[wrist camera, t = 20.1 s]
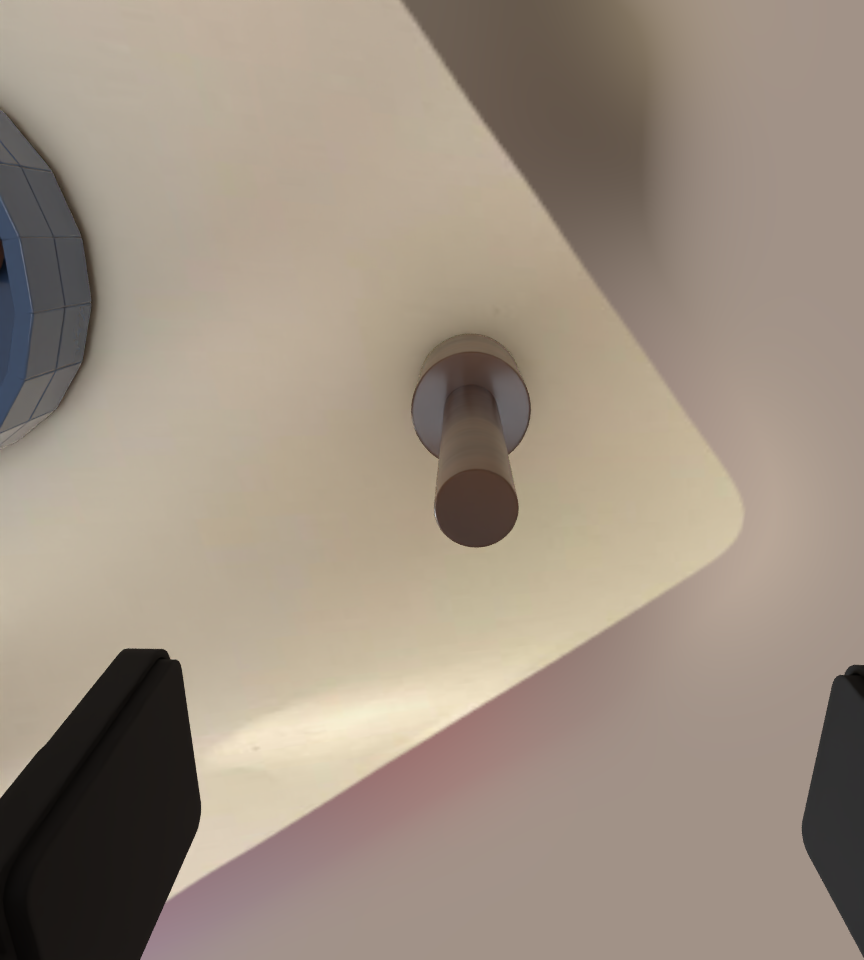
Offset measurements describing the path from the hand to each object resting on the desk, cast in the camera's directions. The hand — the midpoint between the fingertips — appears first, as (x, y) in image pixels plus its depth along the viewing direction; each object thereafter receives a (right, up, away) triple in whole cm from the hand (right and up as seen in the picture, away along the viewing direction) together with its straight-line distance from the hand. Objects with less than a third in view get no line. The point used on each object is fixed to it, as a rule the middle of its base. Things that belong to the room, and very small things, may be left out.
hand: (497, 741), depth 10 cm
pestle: (+1, +8, +21) cm, 22 cm away
